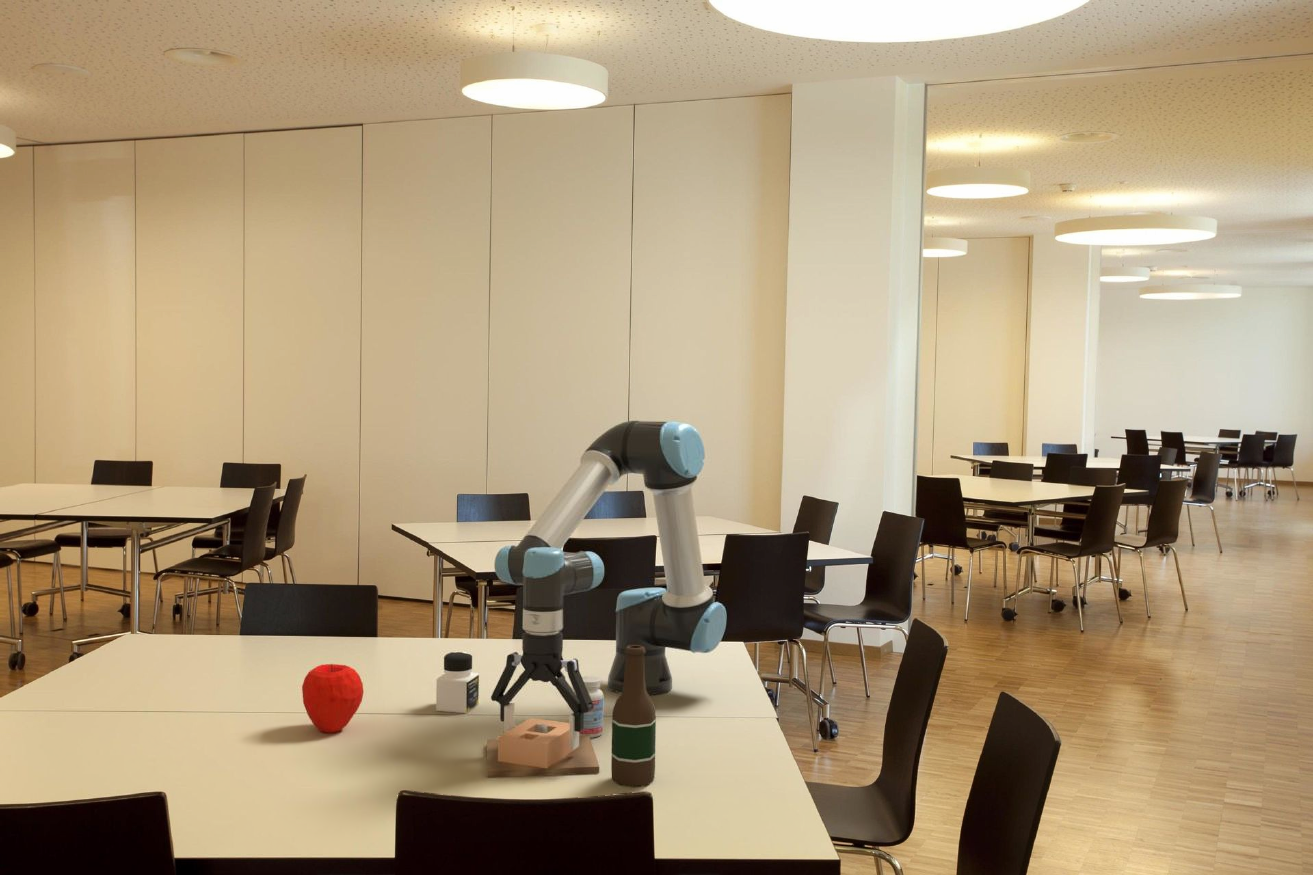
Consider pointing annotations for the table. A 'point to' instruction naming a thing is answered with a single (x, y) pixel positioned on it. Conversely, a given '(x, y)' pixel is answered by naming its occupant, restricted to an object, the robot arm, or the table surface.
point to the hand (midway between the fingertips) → (541, 743)
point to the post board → (572, 763)
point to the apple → (332, 696)
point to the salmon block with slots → (534, 743)
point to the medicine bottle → (457, 684)
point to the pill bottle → (594, 716)
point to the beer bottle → (633, 726)
